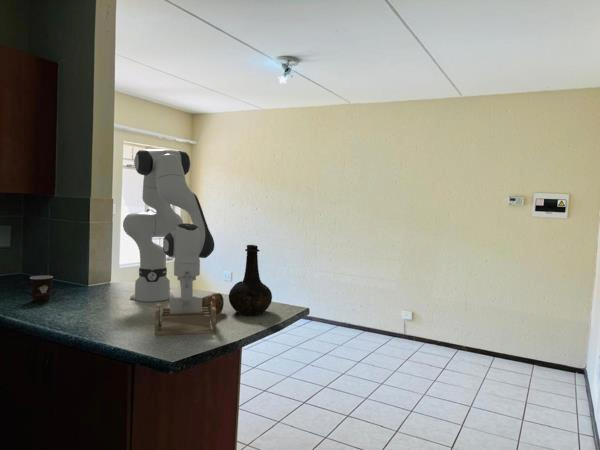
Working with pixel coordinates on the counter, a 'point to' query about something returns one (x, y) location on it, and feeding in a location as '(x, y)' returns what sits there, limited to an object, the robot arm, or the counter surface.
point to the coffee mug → (40, 287)
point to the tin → (218, 302)
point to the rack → (185, 321)
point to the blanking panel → (178, 306)
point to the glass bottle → (250, 288)
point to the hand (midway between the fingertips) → (186, 308)
